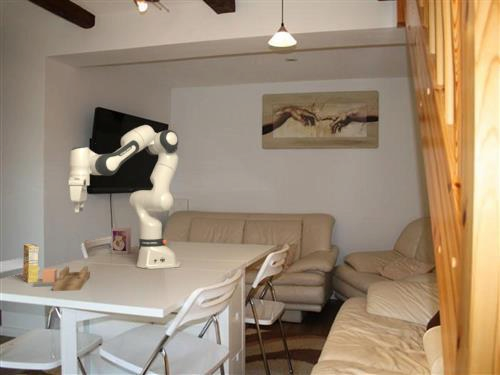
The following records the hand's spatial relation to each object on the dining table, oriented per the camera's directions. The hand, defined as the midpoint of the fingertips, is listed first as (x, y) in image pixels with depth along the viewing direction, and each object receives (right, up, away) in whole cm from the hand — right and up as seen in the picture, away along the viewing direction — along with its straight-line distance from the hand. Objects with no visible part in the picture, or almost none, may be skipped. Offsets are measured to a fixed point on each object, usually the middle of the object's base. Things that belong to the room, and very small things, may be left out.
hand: (79, 211), depth 197 cm
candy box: (-16, -29, -13) cm, 36 cm away
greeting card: (0, -29, +67) cm, 73 cm away
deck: (+4, -29, -17) cm, 34 cm away
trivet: (-6, -29, -18) cm, 35 cm away
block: (-5, -28, -18) cm, 34 cm away
